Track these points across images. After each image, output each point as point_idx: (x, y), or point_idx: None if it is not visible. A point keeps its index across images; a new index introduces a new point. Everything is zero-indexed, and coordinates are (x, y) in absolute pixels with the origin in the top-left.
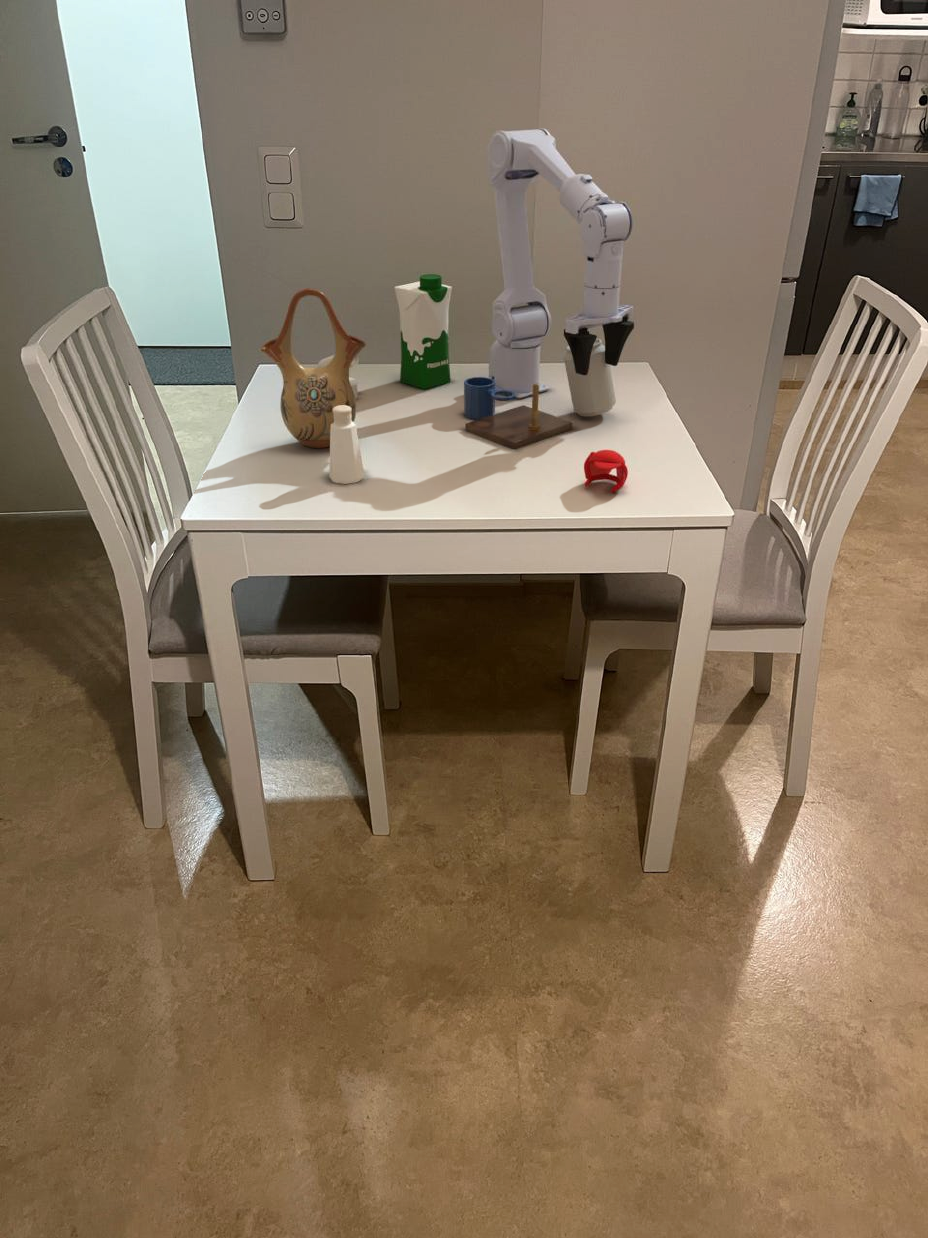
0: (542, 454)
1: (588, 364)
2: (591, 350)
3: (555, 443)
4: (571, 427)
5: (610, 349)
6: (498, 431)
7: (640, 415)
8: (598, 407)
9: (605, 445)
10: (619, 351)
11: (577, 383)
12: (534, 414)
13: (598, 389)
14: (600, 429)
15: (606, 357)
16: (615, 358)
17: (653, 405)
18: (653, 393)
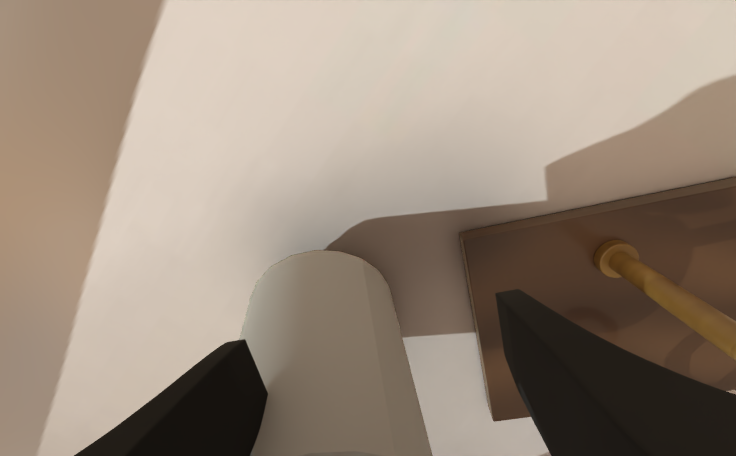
0: (712, 84)
1: (531, 317)
2: (591, 387)
3: (595, 152)
4: (466, 233)
5: (218, 453)
6: (730, 287)
7: (195, 225)
8: (350, 260)
9: (464, 46)
10: (180, 392)
11: (409, 367)
12: (657, 272)
13: (341, 301)
14: (382, 186)
15: (254, 420)
16: (225, 369)
17: (116, 274)
18: (72, 349)
